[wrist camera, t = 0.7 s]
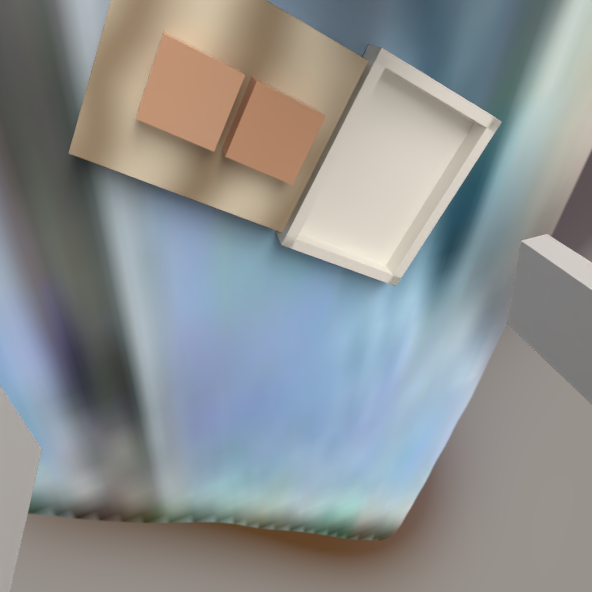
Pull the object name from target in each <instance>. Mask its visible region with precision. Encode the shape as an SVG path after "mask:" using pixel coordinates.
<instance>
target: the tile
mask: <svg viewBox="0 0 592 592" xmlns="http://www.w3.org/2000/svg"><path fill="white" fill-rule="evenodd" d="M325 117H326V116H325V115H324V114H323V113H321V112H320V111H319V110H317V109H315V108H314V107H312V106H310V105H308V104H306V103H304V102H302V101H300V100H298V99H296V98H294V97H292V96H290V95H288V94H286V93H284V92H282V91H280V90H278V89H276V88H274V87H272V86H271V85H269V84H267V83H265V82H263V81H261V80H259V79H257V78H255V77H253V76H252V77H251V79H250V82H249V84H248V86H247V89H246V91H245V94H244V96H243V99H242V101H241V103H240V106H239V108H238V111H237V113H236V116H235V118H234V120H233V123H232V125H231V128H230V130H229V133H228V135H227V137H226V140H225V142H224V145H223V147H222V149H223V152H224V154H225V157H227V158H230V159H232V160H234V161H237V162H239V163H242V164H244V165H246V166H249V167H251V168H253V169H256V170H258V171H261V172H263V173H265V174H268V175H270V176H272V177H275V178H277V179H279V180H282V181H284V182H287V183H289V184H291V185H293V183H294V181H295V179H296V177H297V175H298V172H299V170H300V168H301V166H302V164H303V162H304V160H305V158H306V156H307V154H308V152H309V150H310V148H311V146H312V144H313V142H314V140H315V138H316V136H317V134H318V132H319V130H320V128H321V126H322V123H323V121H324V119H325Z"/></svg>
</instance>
